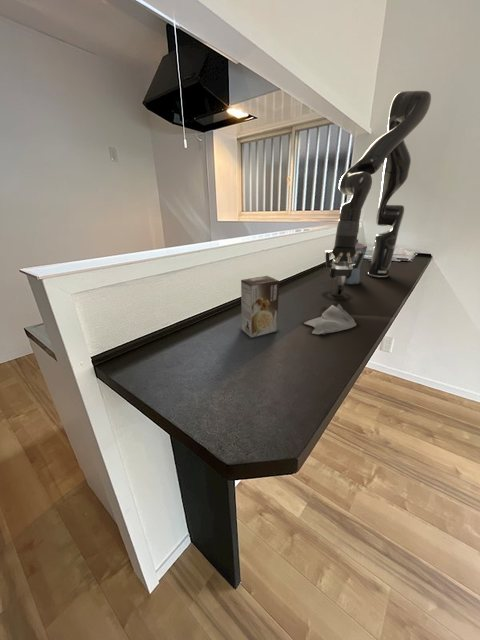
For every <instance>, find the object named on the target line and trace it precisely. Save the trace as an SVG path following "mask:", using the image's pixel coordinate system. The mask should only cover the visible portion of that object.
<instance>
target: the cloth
mask: <svg viewBox="0 0 480 640" xmlns="http://www.w3.org/2000/svg"><path fill="white" fill-rule="evenodd" d="M343 308H344V307H342V306H341V304H340V303H338V304H337V305H334V304H331V305H330V306H329V307H328V308H327V309H326V310H324V311H323V312H322V313H321V315H320V316H319V317H316V318H312V319H310V320H307V321H305V322H303V324H304V325H306V326H309V327H312V328H314V329H313V330H312V331H311V334H313V335H318V336H319V335H323V336H324V335H329V334H332V333H336V332H341V331H345V330H349V329H352V328H354V327H356V326H357V322H355V319H354V318H353V317H352V316H351V315H350V314H349V313H348V312H347V311H346V310H345V309H343Z"/></svg>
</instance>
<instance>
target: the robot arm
mask: <svg viewBox="0 0 480 640" xmlns="http://www.w3.org/2000/svg"><path fill="white" fill-rule="evenodd" d="M431 103H432V94H431V91H430V92H429V91H428V90H405V91H400V92H398V93H396V94H395V96H394V97H393V99H392V101H391V104H390V108H389V111H388V122H387V123H388V124H387V132H385V133H384V134H382V135H381V136H379V137H378V138H377V139H376V140H375V141H373V143H371V145H370V146H369V147H368V149H367V150H366V151H365V152H364V154H363V155H362V157H361V158H360V159H359V160H357V161H356V162H355V163H354V164H353V165H352V166H351V167H350V168H348V169H347V170H346V171H345V172H344V174H343V175H342V176H341V178H340V180H339V183H338V189H339V191H340V193H342V194H343V195H346V196H351V198H350V200H349V201H347V202H344V203H342V204H341V207H340V211H339V218H338V223H337V226H336V231H335V232H336V233H335V238H334V239H335V240H334V245H333V248H332V250H325V251H324V259H325V266H326V267H327V268H329V277H330V278H331V279H333V277H334V271H335V269H334V268H335V266H337V265H338V263H339V262H344V261H347V264H348V268H349V269H350V271H349V276H346V278H347V279H349V277H351V273H352V269H354V268H357V267H358V266H359V263H360V261H361V258H362V256H363V253H362V252H358V251H356V250H355V247H356V241H357V239H358V235H359V232H360V220H361V215H362V209H363V207H364V205H365V202H366V200H367V197H368V196H369V194H370V191H371V188H372V185H373V177H372V175H374V174H376V173H377V172H378V170H379V169H380V168H381V166H382V165H383V172H382V181H381V189H380V195H379V196H380V197H379V202H378V207H377V211H376V217H375V224H376V225H377V226H381V227H391V228H390V229H389V230H387V231H385V232H381V233H377V234H376V235H375V237H374V244H373V248H372V253H371V257H370V259H368V262H369V266H368V271H367V276H369V277H372V278H375V279H376V278H377V279H386V278H388V277H389V272H390V269H391V264H392V260H393V256H394V252H395V248H396V245H397V240H398V236H399V231H400V228H401V224H402V221H403V218H404V214H405V206H404V205H402V204H388V203H389V201H390V199H391V198H392V196H394V194H395V193H396V192H397V191H398V190H399V189H401V187H402V186H403V185H404V184H405V182H406V181H407V179H408V177H409V173H410V168H411V163H412V159H411V154H410V152H409V149H408V147H407V145H406V142H405V139H406V138H407V137H408V136H409V135H410V134H411V133H412V132H413V131H414V130H415V129H416V127H418V126H419V124H421V123H422V121H423V120H424V118H425V117H426V115H427V114H428V111H429V109H430V105H431ZM355 254H356V259H355V262H354V264H353V265H352V261H351V258H352V257H353V256H354V255H355ZM332 255H333V256H334V258H333V259H332V262H331V260H330V259H331V258H330V257H331V256H332Z"/></svg>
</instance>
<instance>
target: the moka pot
mask: <svg viewBox="0 0 480 640" xmlns="http://www.w3.org/2000/svg"><path fill="white" fill-rule="evenodd" d="M355 250H356V251H358V252H362V253H363V256H362V258H361V261H360V263H359V266H358V267H357V268H354V269H352V273H351V277H349V279H347V278H346V282H345V284H347V285H358V284H360V281H361V280H360V279H361V265H362V264H363V261H364V259H365V255H366V252H367V250H368V246H367V245H365V244H363V243H359V239H358V238H357V241H356V247H355ZM355 259H356V254H355V255H354V256H353V257H352V258H351V261H352V265H353V264H354V262H355ZM343 266H347V267H348V264H347V261H343Z"/></svg>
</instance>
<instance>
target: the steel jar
mask: <svg viewBox="0 0 480 640" xmlns="http://www.w3.org/2000/svg"><path fill="white" fill-rule="evenodd" d="M334 269H335V271H334V277H333V278H332V282H331V283H332V284H331V289H330V290H331V291H330V295H332V296H335V297H343V296H344V292H345V288H346V283H345V282H346V276H349V271H350V269H349V268H348V267H347V266H344V265H336V266H335V268H334Z"/></svg>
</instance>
